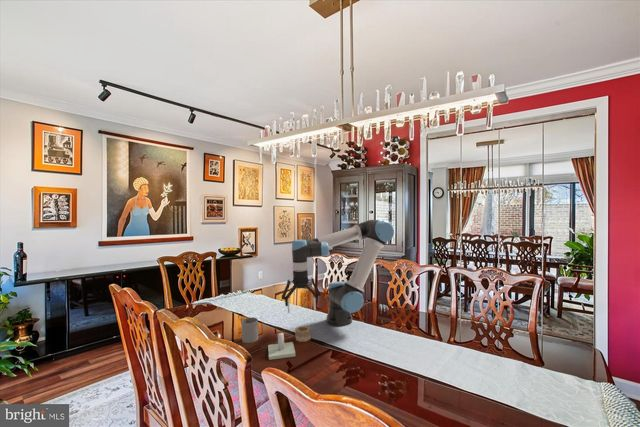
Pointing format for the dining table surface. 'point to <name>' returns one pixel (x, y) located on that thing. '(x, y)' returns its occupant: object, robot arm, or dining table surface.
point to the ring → (303, 333)
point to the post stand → (281, 349)
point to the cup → (249, 330)
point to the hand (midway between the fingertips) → (301, 310)
